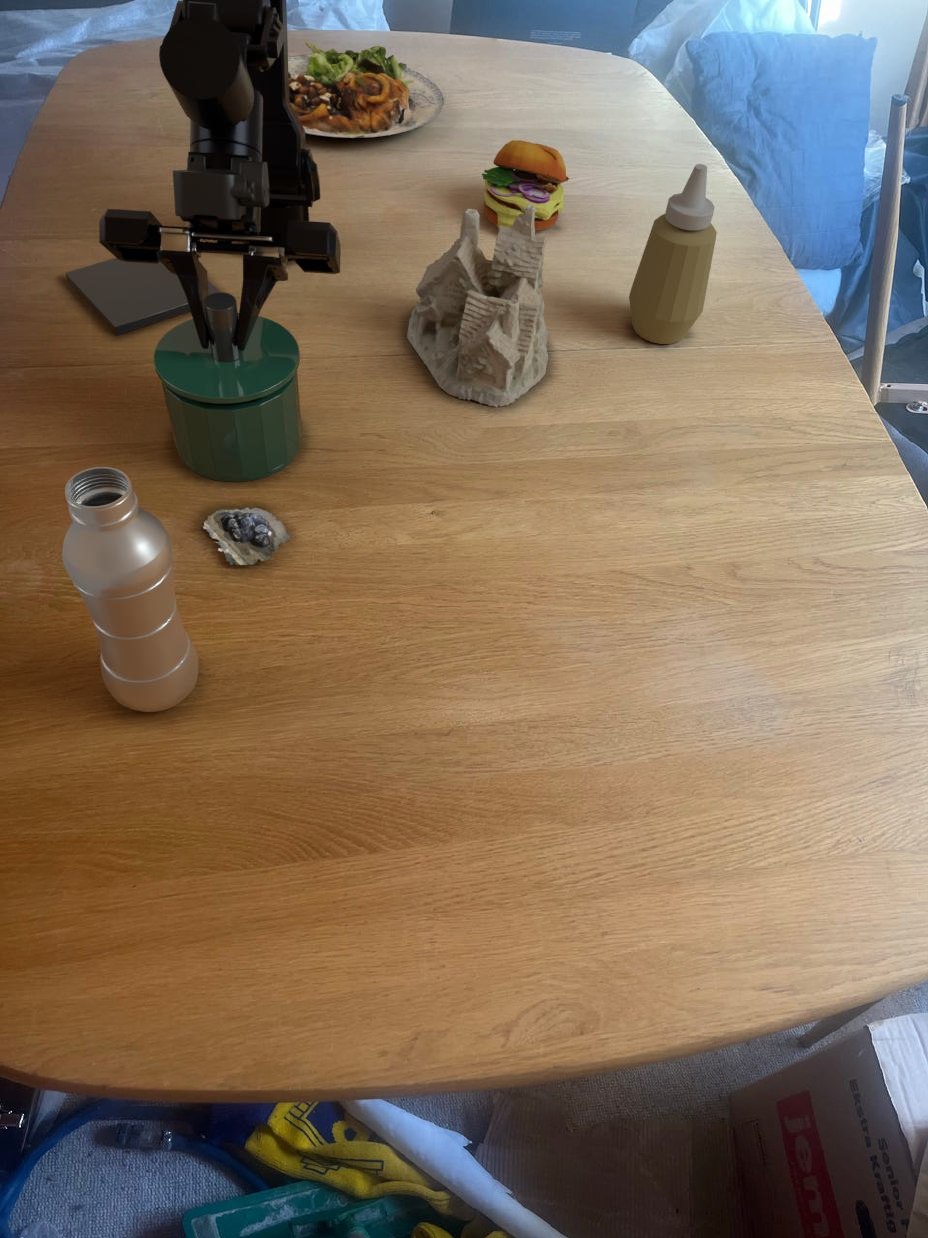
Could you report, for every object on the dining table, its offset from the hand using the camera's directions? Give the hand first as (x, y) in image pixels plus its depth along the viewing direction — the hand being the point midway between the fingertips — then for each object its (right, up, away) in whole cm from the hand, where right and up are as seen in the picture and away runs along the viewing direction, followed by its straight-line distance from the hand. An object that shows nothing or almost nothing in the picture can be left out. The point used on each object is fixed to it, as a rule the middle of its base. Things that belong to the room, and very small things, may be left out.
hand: (222, 349), depth 80 cm
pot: (-1, -6, +9) cm, 11 cm away
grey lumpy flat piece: (+1, -16, +2) cm, 16 cm away
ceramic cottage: (+21, +5, +21) cm, 30 cm away
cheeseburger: (+27, +27, +40) cm, 55 cm away
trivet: (-14, +13, +24) cm, 31 cm away
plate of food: (+3, +49, +56) cm, 74 cm away
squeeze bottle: (+41, +9, +26) cm, 50 cm away
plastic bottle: (-3, -28, -9) cm, 29 cm away
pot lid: (0, 0, +2) cm, 2 cm away
